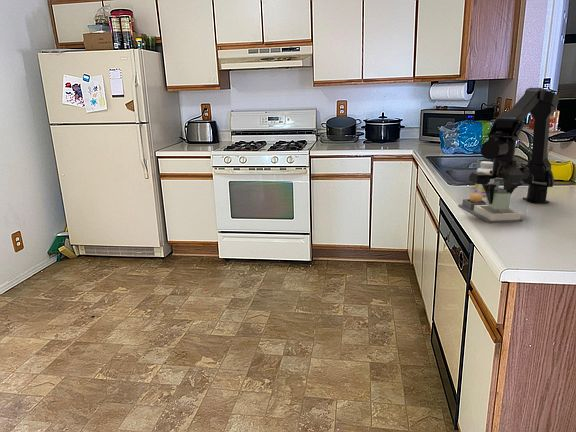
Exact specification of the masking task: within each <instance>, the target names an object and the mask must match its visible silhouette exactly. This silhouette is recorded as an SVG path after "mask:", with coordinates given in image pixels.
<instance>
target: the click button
mask: <svg viewBox="0 0 576 432" xmlns="http://www.w3.org/2000/svg"><path fill="white" fill-rule="evenodd" d="M483 197H484V196H483V195H482V194H479V193H474V192H471V193H469V199H470V200H469V202H471V203H482V200H483Z"/></svg>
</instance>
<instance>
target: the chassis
mask: <svg viewBox="0 0 576 432" xmlns="http://www.w3.org/2000/svg"><path fill="white" fill-rule="evenodd" d="M469 200H470V198H465V199H464V198H463V199H462V204H458V206H457V207H459V208H460V209H463V210H464V211H466V212H468V213H470V214H471V215H473V216H475V217H476V218H478V219H480V220H481V221H484V222H485V223H487V224H495V223H523V219H522V218H521V213H520V212H518V211H516V210H514V209H511V208H510V207H509V209H494V208H492V207H490V206H488V205H486V200H483V199H482V203H471V202H469Z"/></svg>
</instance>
